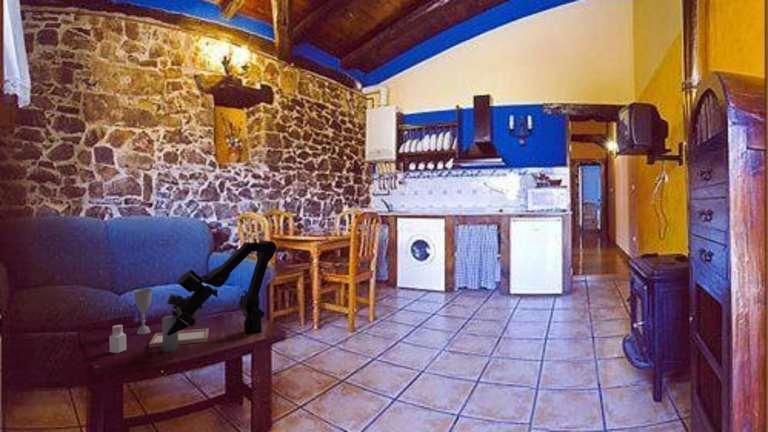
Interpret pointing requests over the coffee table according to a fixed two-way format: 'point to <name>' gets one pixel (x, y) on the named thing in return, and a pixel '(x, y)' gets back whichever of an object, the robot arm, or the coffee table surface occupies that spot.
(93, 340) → the coffee table surface
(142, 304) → the chalice
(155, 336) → the serving tray
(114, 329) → the pepper shaker
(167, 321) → the grey upright block
